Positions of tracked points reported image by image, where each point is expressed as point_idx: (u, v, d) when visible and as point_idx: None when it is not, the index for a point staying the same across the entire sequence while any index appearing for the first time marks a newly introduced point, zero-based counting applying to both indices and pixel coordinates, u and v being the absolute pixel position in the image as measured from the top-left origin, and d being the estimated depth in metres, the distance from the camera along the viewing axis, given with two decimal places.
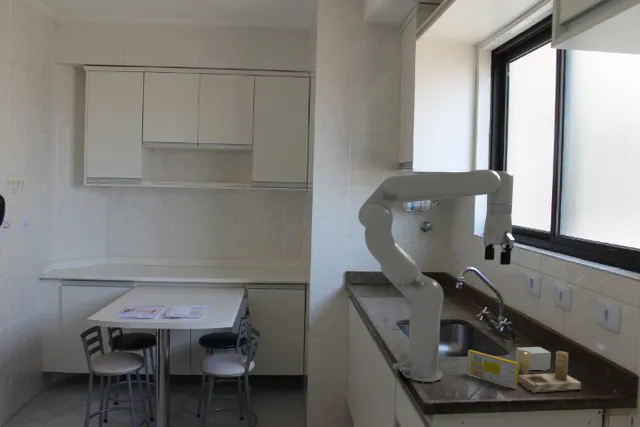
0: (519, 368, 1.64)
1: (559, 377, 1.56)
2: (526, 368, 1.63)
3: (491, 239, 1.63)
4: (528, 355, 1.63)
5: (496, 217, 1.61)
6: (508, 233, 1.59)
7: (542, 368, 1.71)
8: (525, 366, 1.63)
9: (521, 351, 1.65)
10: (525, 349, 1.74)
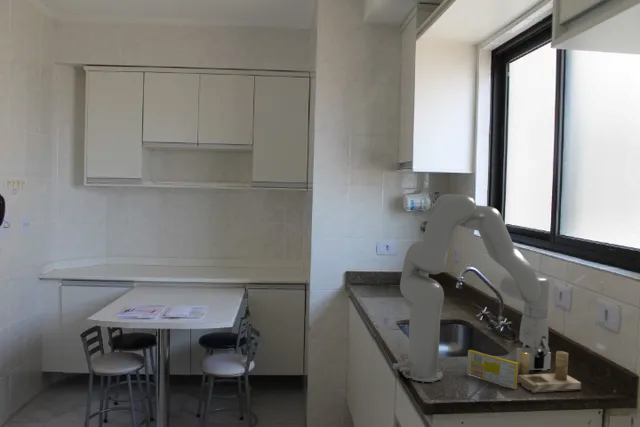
0: (519, 368, 1.64)
1: (559, 377, 1.56)
2: (526, 368, 1.63)
3: (528, 341, 1.71)
4: (528, 355, 1.63)
5: (533, 322, 1.69)
6: (544, 340, 1.68)
7: None
8: (525, 366, 1.63)
9: (521, 351, 1.65)
10: (525, 349, 1.74)
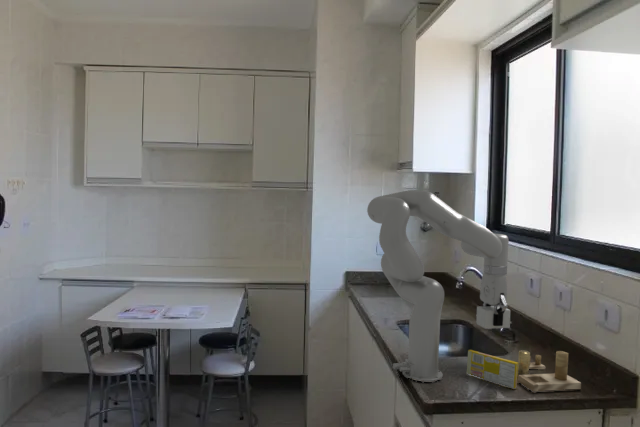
0: (519, 368, 1.64)
1: (559, 377, 1.56)
2: (526, 368, 1.63)
3: (487, 299, 1.71)
4: (528, 355, 1.63)
5: (492, 279, 1.68)
6: (503, 296, 1.67)
7: (502, 325, 1.70)
8: (525, 366, 1.63)
9: (521, 351, 1.65)
10: (485, 307, 1.73)
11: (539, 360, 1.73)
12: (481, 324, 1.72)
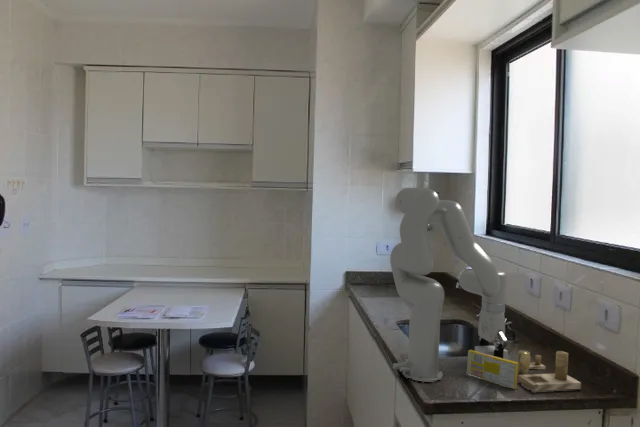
0: (519, 368, 1.64)
1: (559, 377, 1.56)
2: (526, 368, 1.63)
3: (485, 335, 1.72)
4: (528, 355, 1.63)
5: (490, 316, 1.69)
6: (501, 332, 1.68)
7: None
8: (525, 366, 1.63)
9: (521, 351, 1.65)
10: (483, 347, 1.74)
11: (539, 360, 1.73)
12: None
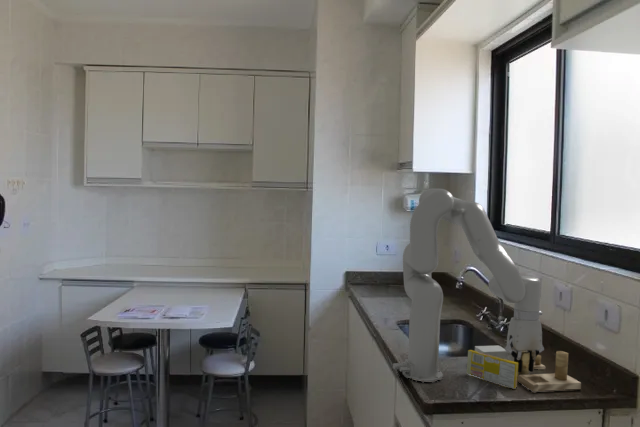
0: None
1: (559, 377, 1.56)
2: (526, 368, 1.63)
3: None
4: (528, 355, 1.63)
5: None
6: (511, 340, 1.63)
7: None
8: (525, 366, 1.63)
9: None
10: (483, 347, 1.74)
11: (539, 360, 1.73)
12: None
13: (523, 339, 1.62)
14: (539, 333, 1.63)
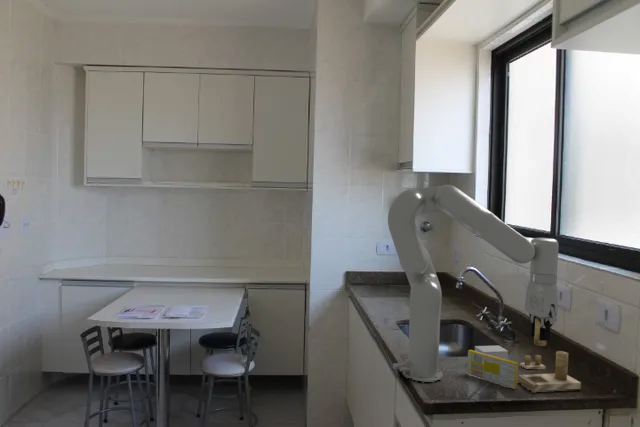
0: None
1: (559, 377, 1.56)
2: None
3: (535, 311, 1.53)
4: None
5: (541, 289, 1.51)
6: (553, 309, 1.50)
7: None
8: None
9: (540, 319, 1.54)
10: (483, 347, 1.74)
11: (539, 360, 1.73)
12: None
13: None
14: None
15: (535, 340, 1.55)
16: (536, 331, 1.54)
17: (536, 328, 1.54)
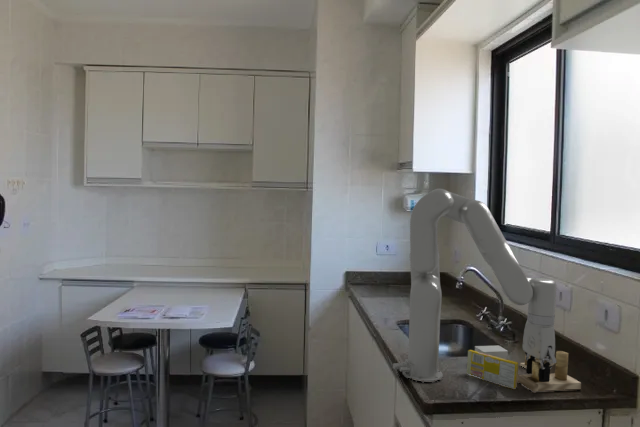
0: None
1: (559, 377, 1.56)
2: None
3: (532, 351, 1.54)
4: None
5: (538, 330, 1.51)
6: (551, 350, 1.50)
7: None
8: None
9: (537, 362, 1.55)
10: (483, 347, 1.74)
11: None
12: None
13: None
14: None
15: None
16: (533, 374, 1.55)
17: (533, 371, 1.55)
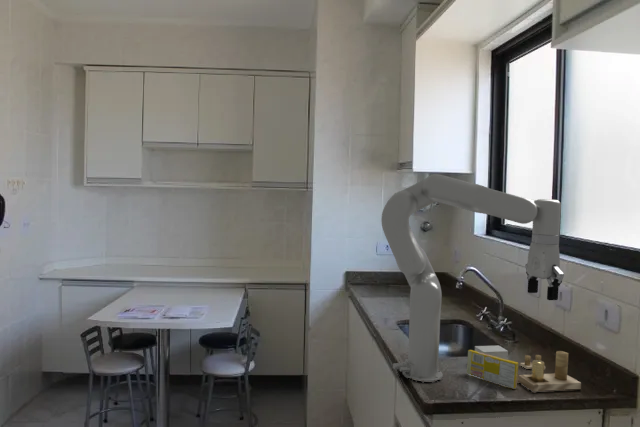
0: (541, 380, 1.54)
1: (559, 377, 1.56)
2: None
3: (536, 272, 1.52)
4: None
5: (543, 249, 1.50)
6: (556, 266, 1.48)
7: None
8: None
9: (538, 362, 1.55)
10: (483, 347, 1.74)
11: None
12: None
13: None
14: None
15: None
16: (533, 374, 1.55)
17: (533, 371, 1.55)
